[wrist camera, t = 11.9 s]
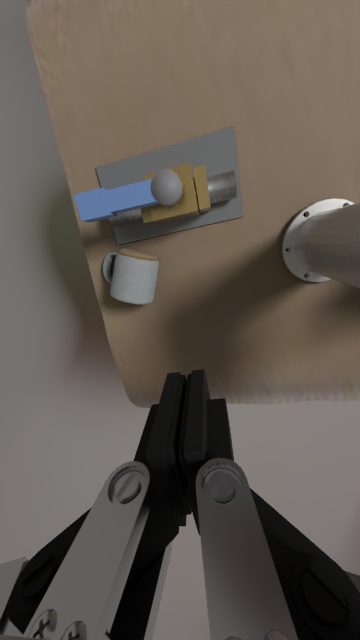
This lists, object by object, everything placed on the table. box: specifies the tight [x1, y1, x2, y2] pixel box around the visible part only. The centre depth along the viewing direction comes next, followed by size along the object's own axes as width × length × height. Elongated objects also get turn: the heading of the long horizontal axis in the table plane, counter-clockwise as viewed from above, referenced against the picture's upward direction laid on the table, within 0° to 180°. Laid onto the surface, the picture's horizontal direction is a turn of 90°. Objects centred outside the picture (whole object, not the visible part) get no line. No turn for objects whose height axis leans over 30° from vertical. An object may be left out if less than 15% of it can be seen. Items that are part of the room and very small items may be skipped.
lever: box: [74, 169, 183, 222], centre depth 27 cm, size 4×13×2 cm, turn 101°
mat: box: [96, 127, 243, 245], centre depth 35 cm, size 22×12×1 cm, turn 102°
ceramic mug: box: [103, 248, 159, 305], centre depth 37 cm, size 11×8×8 cm
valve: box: [108, 163, 237, 227], centre depth 32 cm, size 20×6×8 cm, turn 102°
